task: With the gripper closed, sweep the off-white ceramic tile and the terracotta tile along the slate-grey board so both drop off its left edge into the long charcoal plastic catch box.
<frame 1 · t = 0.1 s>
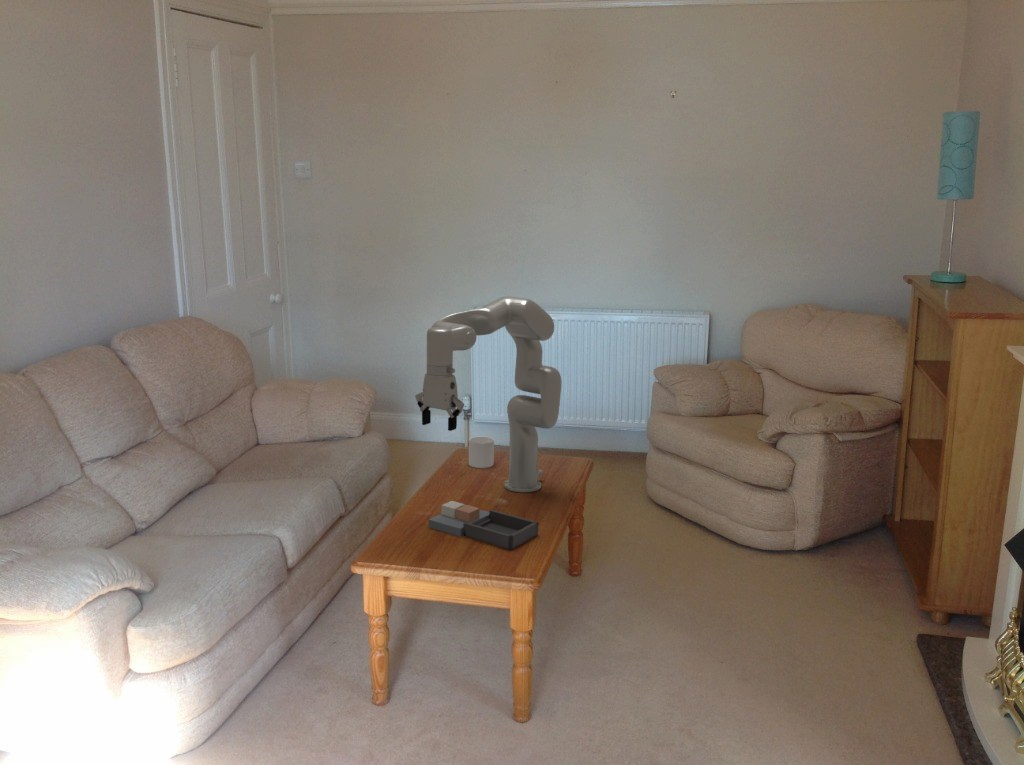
hand: (439, 426, 283), 31 cm above the table, fingers open, 9 cm apart
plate: (460, 524, 292), on the table
tile a: (453, 514, 293), point 2 cm above the table, touching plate
tile b: (467, 518, 290), point 2 cm above the table, touching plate
catch box: (500, 535, 284), on the table
mug: (481, 463, 350), on the table
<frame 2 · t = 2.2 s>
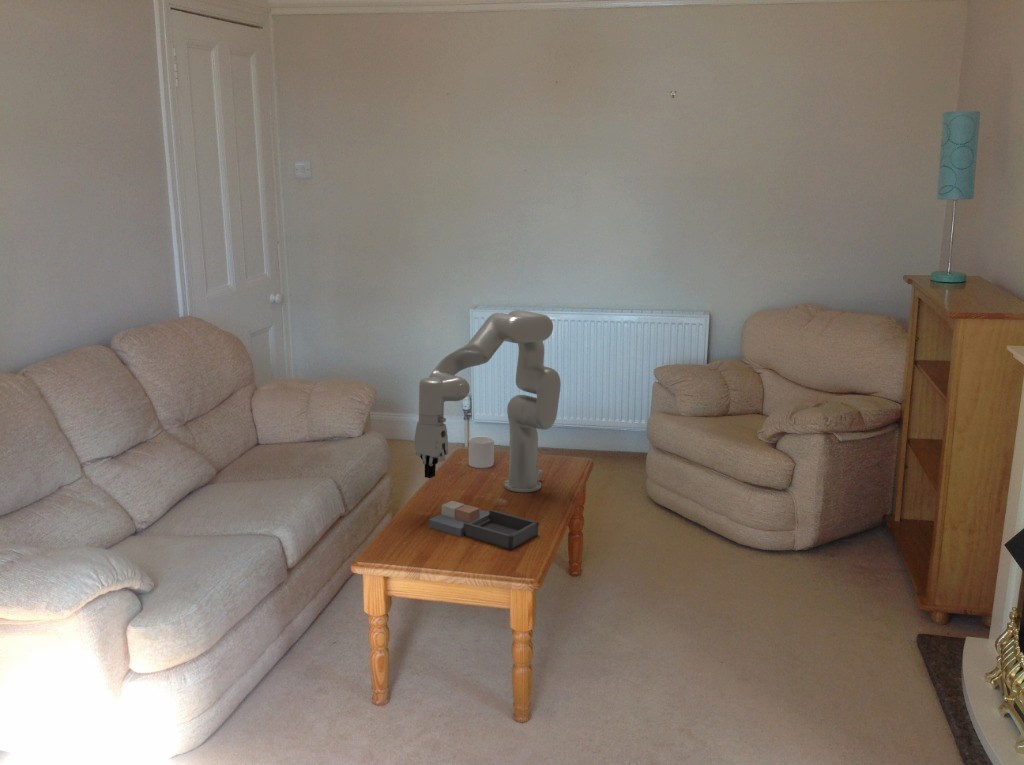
hand: (429, 476, 295), 13 cm above the table, fingers closed
nothing on the table moved.
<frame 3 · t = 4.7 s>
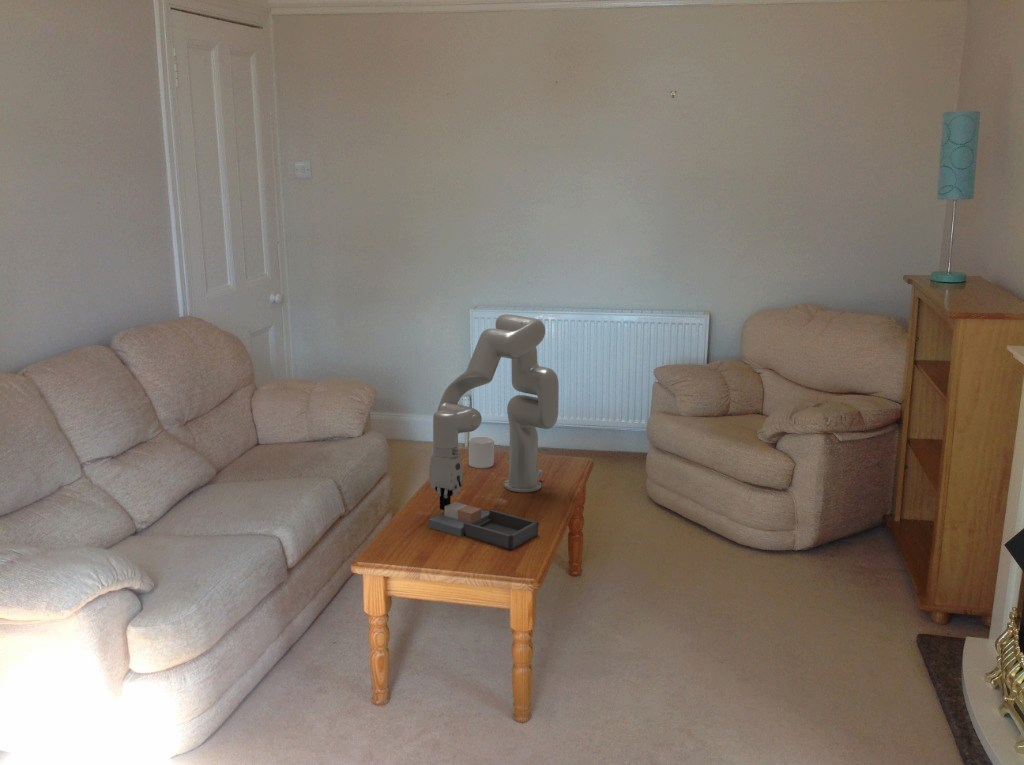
hand: (445, 508, 294), 4 cm above the table, fingers closed
tile a: (456, 515, 292), point 3 cm above the table, touching gripper
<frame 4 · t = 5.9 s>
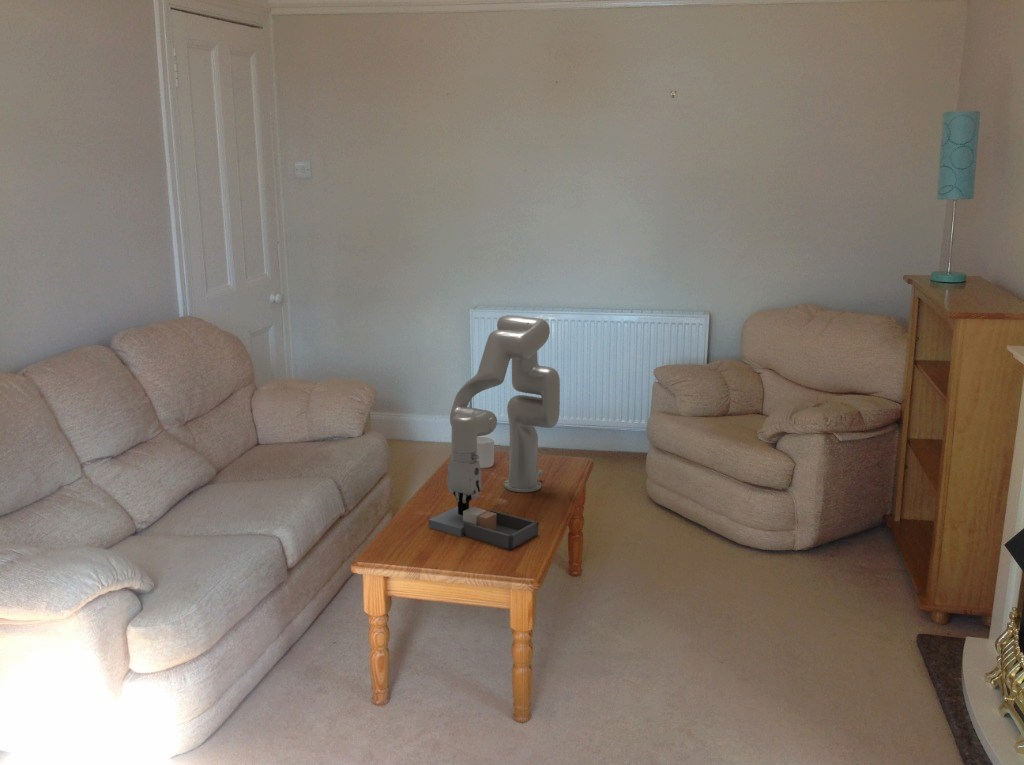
hand: (463, 513, 290), 4 cm above the table, fingers closed
tile a: (474, 520, 288), point 3 cm above the table, touching gripper, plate
tile b: (483, 521, 286), point 3 cm above the table, tilted 90°, touching catch box
everything else where it was.
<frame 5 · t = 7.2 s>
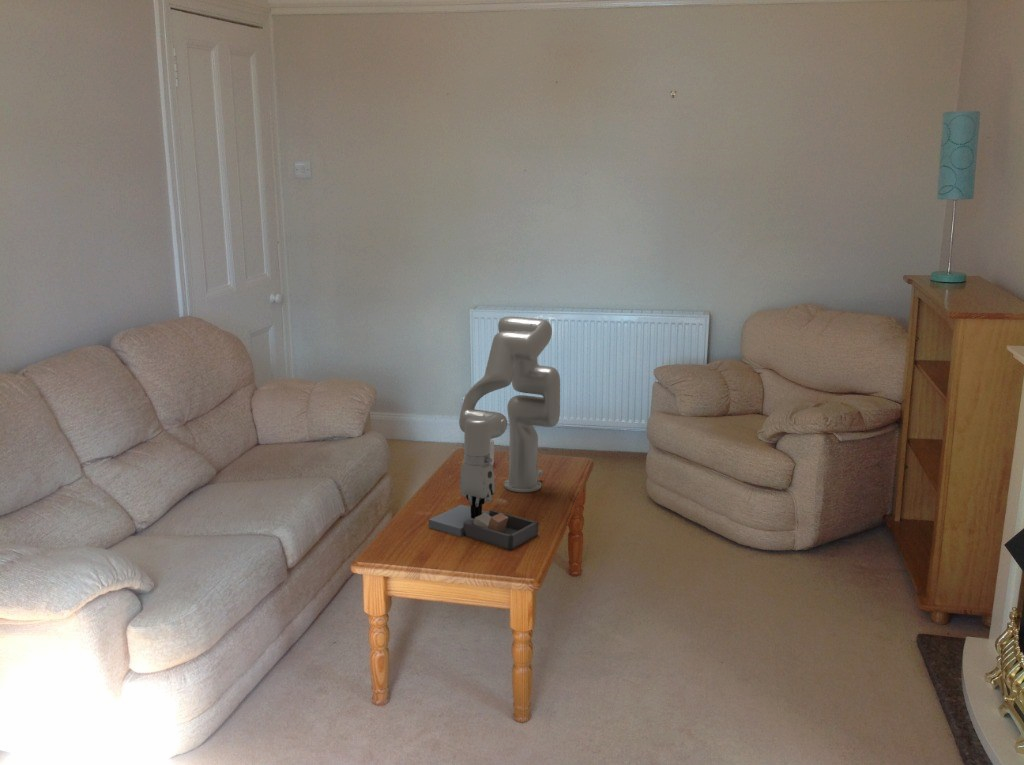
hand: (476, 517, 288), 4 cm above the table, fingers closed
tile a: (484, 527, 287), point 1 cm above the table, tilted 16°, touching gripper, tile b
tile b: (493, 522, 284), point 4 cm above the table, tilted 106°, touching tile a
everything else where it was.
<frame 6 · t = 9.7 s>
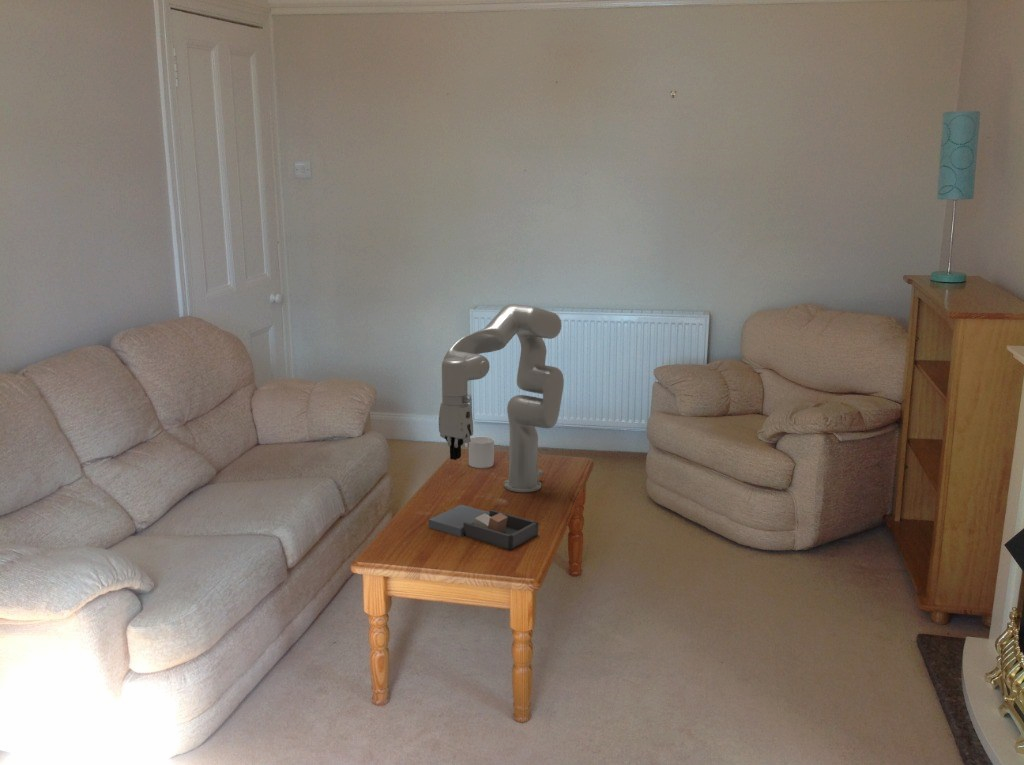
hand: (455, 458, 289), 20 cm above the table, fingers closed
tile a: (484, 528, 287), point 1 cm above the table, tilted 14°, touching catch box, tile b
tile b: (493, 522, 284), point 3 cm above the table, tilted 102°, touching catch box, tile a
everything else where it was.
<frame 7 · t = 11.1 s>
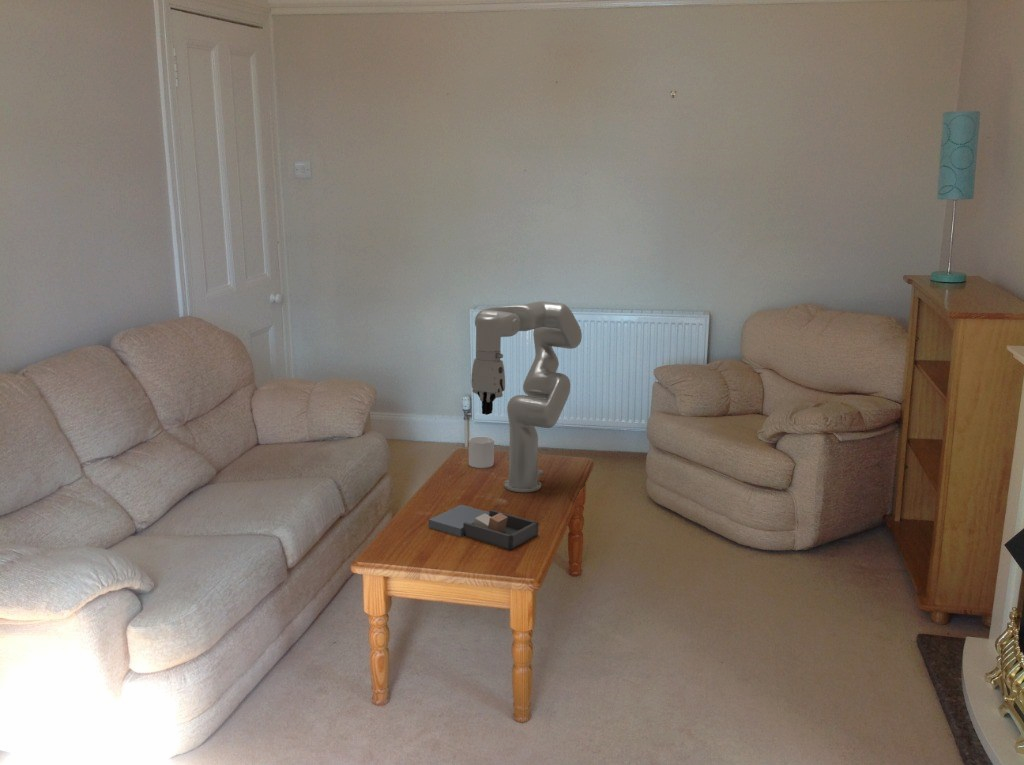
hand: (487, 413, 298), 31 cm above the table, fingers closed
nothing on the table moved.
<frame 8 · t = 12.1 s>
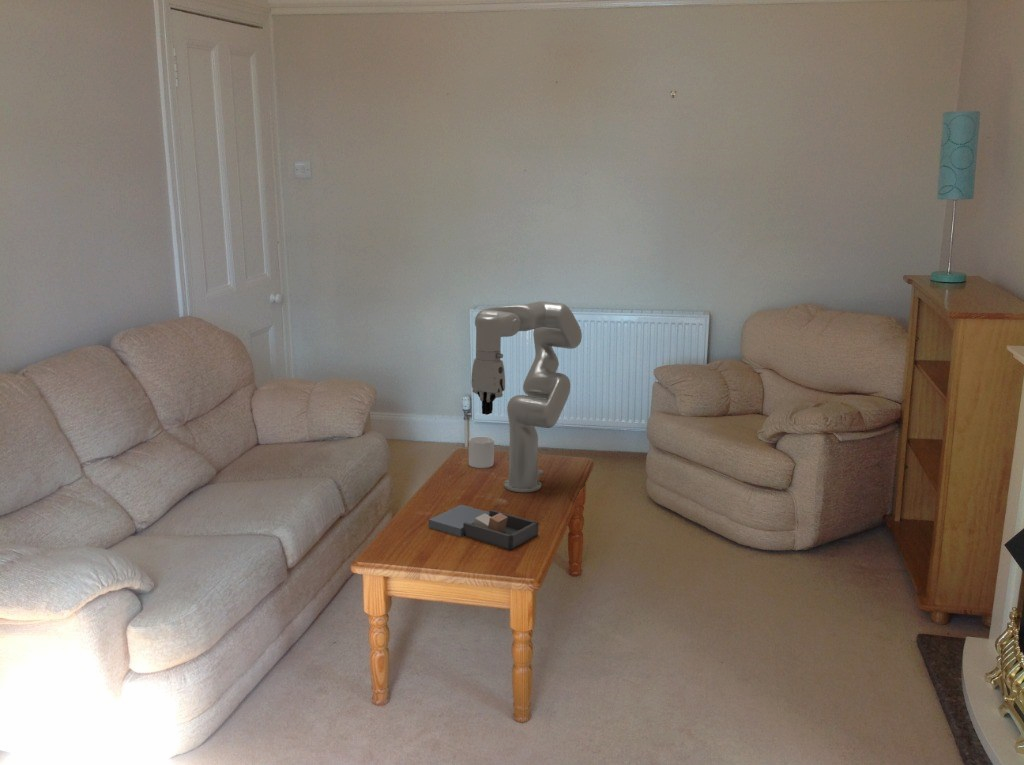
hand: (487, 413, 298), 31 cm above the table, fingers closed
nothing on the table moved.
at the end: tile a inside the target area on the catch box (5.8 cm from its centre), point 1.0 cm above the catch box's base; tile b inside the target area on the catch box (2.6 cm from its centre), point 3.5 cm above the catch box's base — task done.
